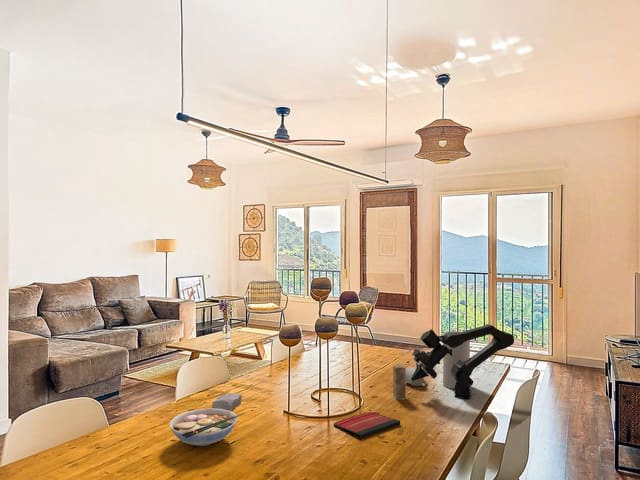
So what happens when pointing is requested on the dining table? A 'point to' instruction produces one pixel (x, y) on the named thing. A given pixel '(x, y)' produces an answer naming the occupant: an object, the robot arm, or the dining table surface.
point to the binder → (366, 424)
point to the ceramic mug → (409, 375)
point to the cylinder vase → (454, 362)
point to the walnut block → (399, 381)
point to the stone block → (227, 401)
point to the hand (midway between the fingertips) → (411, 380)
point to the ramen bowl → (203, 426)
